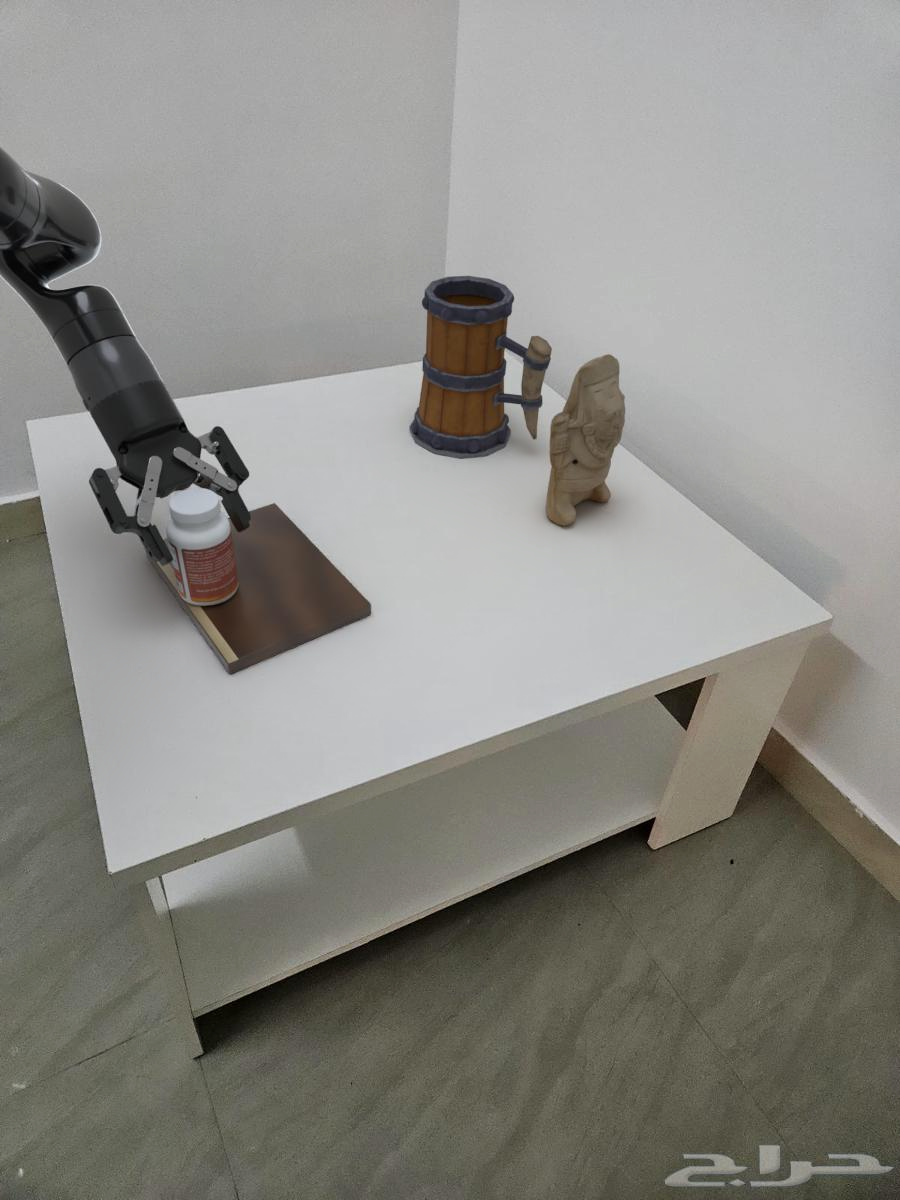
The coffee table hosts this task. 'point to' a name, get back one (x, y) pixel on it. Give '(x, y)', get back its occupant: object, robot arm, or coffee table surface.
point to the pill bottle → (201, 547)
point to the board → (272, 594)
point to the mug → (473, 369)
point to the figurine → (585, 439)
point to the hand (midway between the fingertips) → (207, 545)
